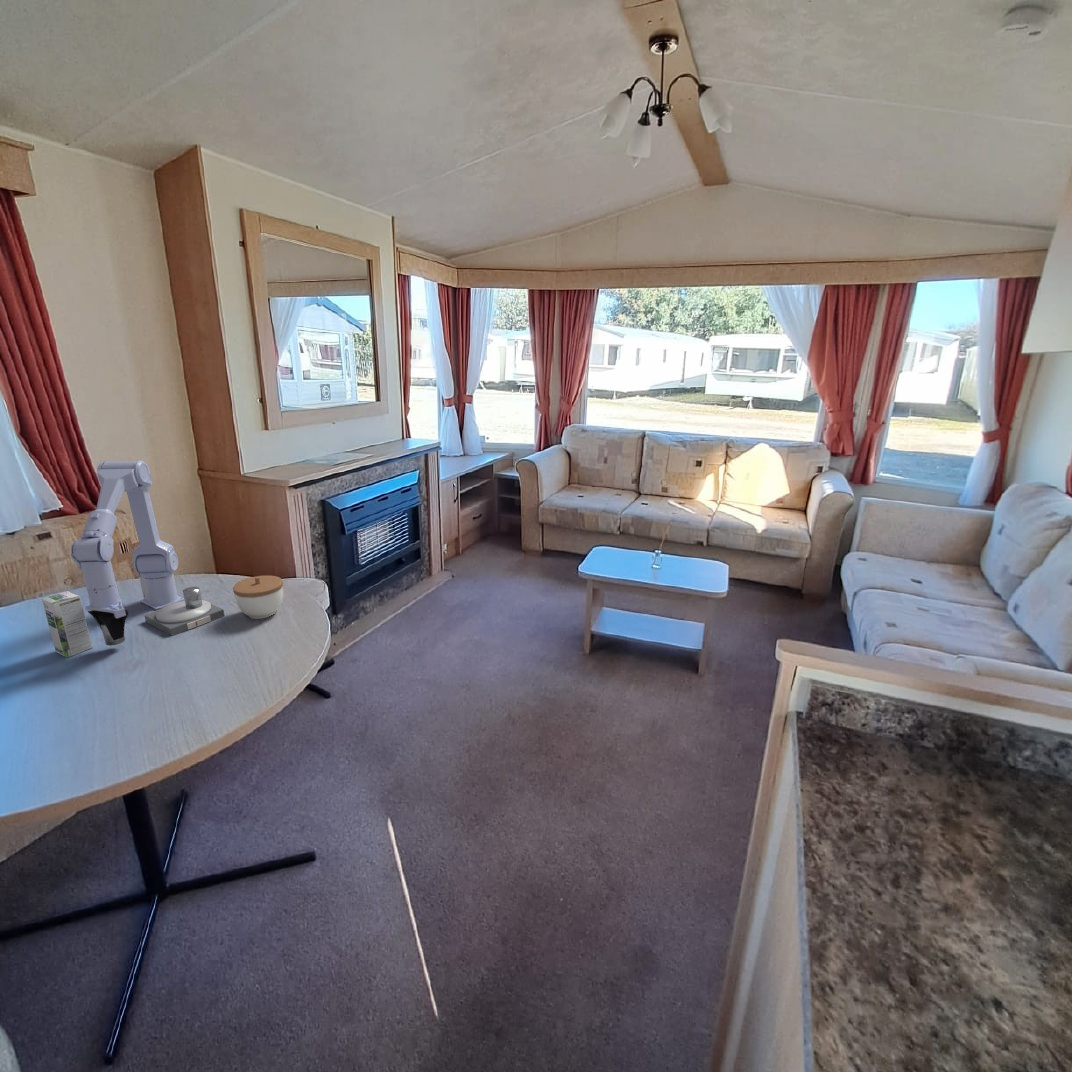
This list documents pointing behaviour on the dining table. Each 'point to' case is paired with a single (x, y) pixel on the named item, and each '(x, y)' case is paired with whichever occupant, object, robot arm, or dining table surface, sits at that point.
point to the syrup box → (67, 623)
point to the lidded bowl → (259, 596)
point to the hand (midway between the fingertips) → (114, 635)
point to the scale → (183, 617)
